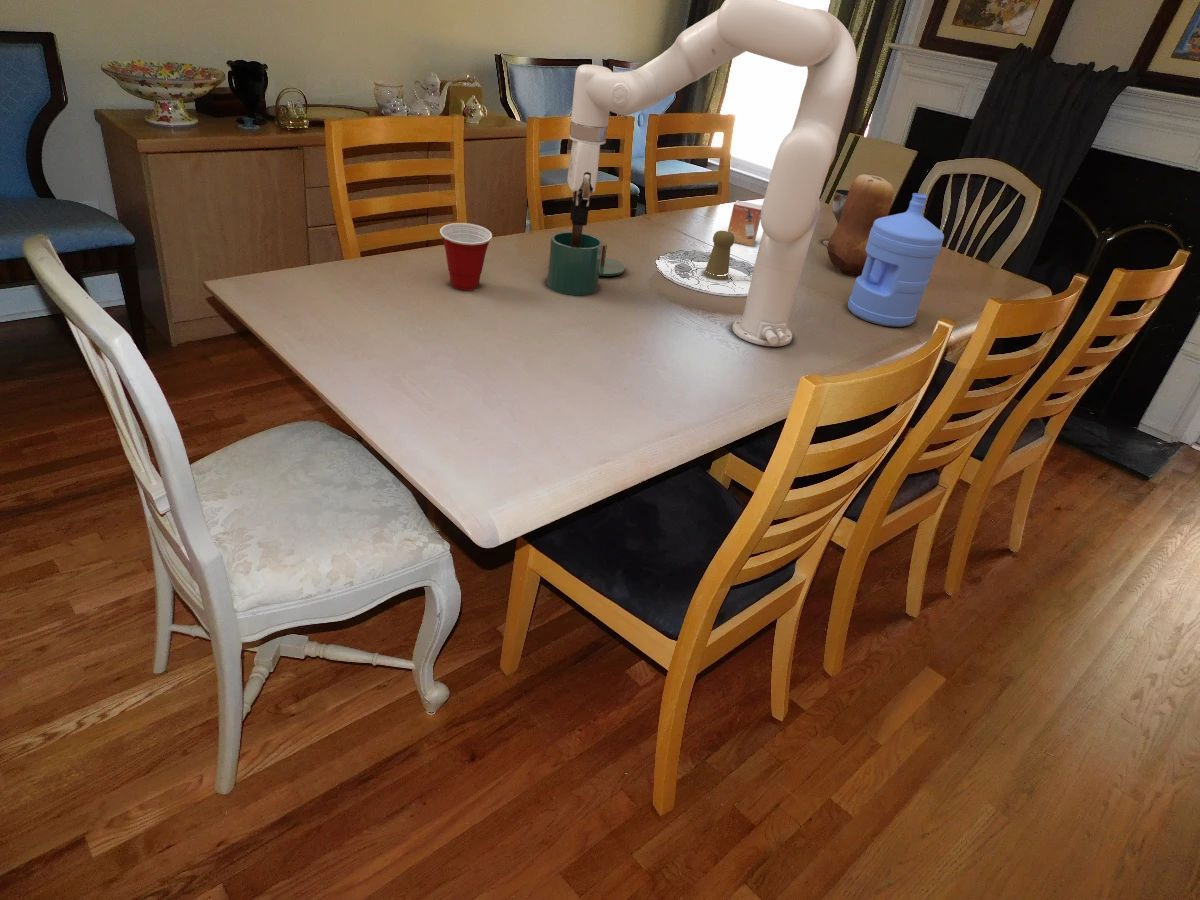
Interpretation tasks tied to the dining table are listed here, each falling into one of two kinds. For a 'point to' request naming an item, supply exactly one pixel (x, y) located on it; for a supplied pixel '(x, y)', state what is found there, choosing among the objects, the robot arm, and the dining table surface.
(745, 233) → the small box
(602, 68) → the robot arm
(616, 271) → the jar lid
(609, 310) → the dining table surface
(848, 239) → the butternut squash
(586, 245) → the jar
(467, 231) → the plastic cup
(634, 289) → the dining table surface
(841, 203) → the wine glass
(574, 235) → the peg on round base
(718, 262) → the olive pawn
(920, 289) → the water jug
